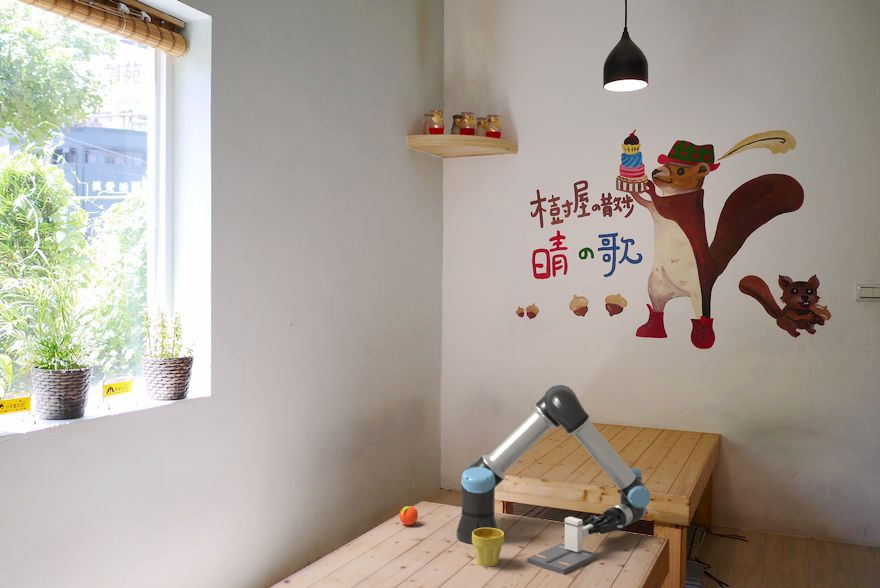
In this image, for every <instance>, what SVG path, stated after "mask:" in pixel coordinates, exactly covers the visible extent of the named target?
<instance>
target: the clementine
mask: <svg viewBox="0 0 880 588" xmlns="http://www.w3.org/2000/svg"><path fill="white" fill-rule="evenodd" d="M418 518H419V513H418V510H417V509H416V508H415V507H414V506H412V505H406V506H404V507H403V508H402V509H401V510H400V511H399V520H400V522H401V523H402V524H403V525H405V526H412V525H414V524H416V522H417V521H418Z"/></svg>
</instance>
